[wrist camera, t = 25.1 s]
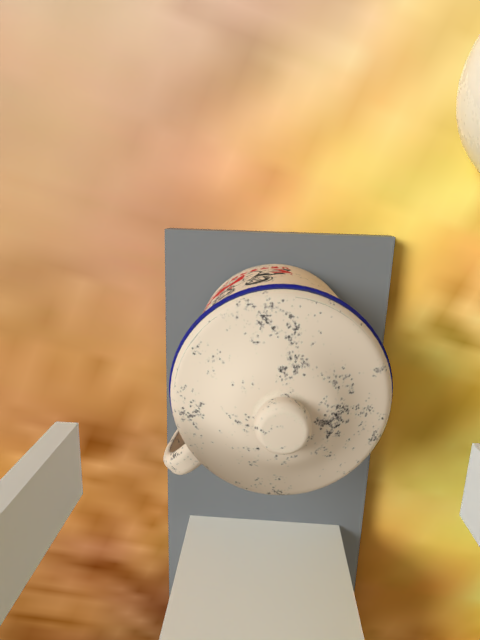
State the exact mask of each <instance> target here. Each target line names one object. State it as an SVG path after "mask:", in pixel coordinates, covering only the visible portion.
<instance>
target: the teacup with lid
mask: <svg viewBox="0 0 480 640" xmlns="http://www.w3.org/2000/svg"><path fill="white" fill-rule="evenodd" d="M392 393H393V382H392V373H391V367H390V363H389V359H388V356H387V354H386V351H385V349H384V346H383V344H382V342H381V340H380V339H379V337H378V335H377V334H376V332H375V331H374V329H373V328H372V327H371V325H370V324H369V323H368V322H367V321H366V319H365V318H363V317H362V316H361V315H360V314H359V313H358V312H357V311H356V310H355V309H353V308H352V307H351V306H350V305H348V304H347V303H345V302H344V301H342V300H340V299H339V298H338V297H337V295H336V294H335V293H334V292H333V291H332V290H331V289H330V287H329V286H328V285H327V284H326V283H324V282H323V281H322V280H321V279H319V278H318V277H317V276H315V275H313V274H312V273H310V272H308V271H306V270H303V269H301V268H298V267H294V266H290V265H284V264H265V265H259V266H255V267H251V268H248V269H246V270H243V271H241V272H239V273H237V274H236V275H234V276H232V277H231V278H229V279H228V280H227V281H226V282H224V283H223V284H222V285H221V286H220V287H219V288H218V289H217V290H216V292H215V293H214V294H213V296H212V297H211V299H210V300H209V302H208V304H207V306H206V308H205V309H204V311H203V313H202V315H201V316H200V317H199V318H198V319H197V320H196V321H195V322H194V323H193V324H192V325H191V327H190V328H189V329H188V331H187V332H186V334H185V335H184V337H183V339H182V340H181V342H180V344H179V346H178V348H177V350H176V353H175V356H174V359H173V362H172V366H171V371H170V378H169V398H170V405H171V410H172V414H173V417H174V421H175V423H176V426H177V428H178V429H177V430H176V432H175V433H174V435H173V436H172V438H171V440H170V442H169V443H168V445H167V448H166V450H165V453H164V464H165V465H166V467H167V468H168V469H170V470H171V471H172V472H173V473H175V474H177V475H183V474H187V473H189V472H191V471H193V470H194V469H196V468H197V467H199V466H200V465H201V464H202V465H204V466H205V467H206V468H207V469H208V470H209V471H211V472H212V473H213V474H215V475H216V476H218V477H219V478H221V479H223V480H225V481H226V482H228V483H230V484H232V485H235V486H237V487H239V488H242V489H245V490H248V491H252V492H256V493H262V494H269V495H293V494H301V493H306V492H310V491H314V490H317V489H320V488H323V487H325V486H328V485H330V484H332V483H334V482H336V481H338V480H339V479H341V478H343V477H344V476H346V475H347V474H349V473H350V472H351V471H353V470H354V469H355V468H356V467H357V466H358V465H360V464H361V463H362V462H363V461H364V460H365V458H366V457H367V456H368V455H369V454H370V453H371V451H372V450H373V449H374V447H375V446H376V444H377V443H378V441H379V439H380V437H381V435H382V433H383V431H384V429H385V426H386V424H387V421H388V418H389V414H390V409H391V403H392Z"/></svg>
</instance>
